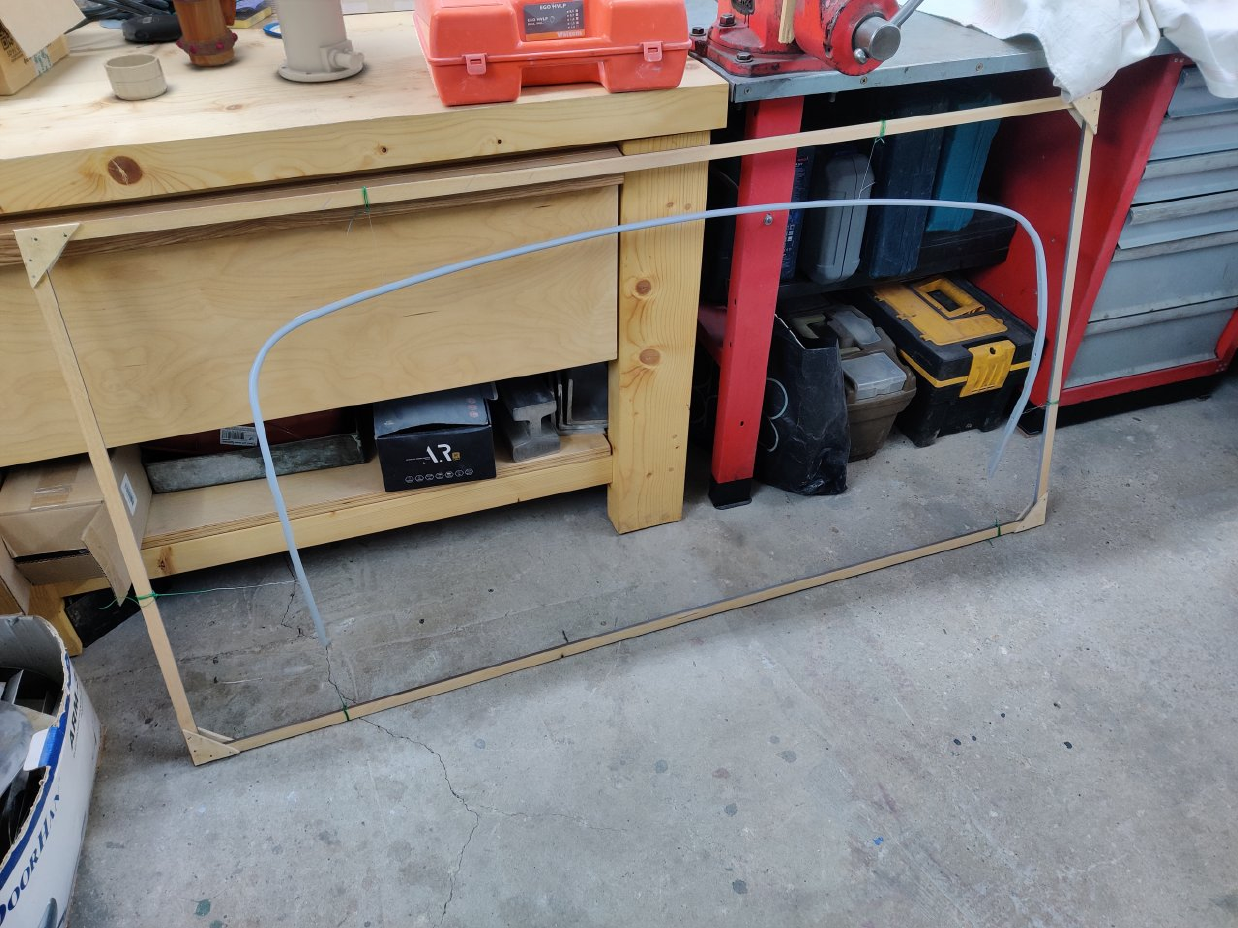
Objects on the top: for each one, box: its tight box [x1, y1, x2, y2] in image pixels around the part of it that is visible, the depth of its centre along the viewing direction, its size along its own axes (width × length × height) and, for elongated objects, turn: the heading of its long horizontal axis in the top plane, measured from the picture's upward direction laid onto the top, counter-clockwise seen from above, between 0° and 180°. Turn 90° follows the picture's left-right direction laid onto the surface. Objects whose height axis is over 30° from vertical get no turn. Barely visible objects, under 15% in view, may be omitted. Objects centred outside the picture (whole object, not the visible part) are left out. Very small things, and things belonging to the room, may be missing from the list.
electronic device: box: [120, 14, 183, 42], centre depth 152 cm, size 9×6×15 cm
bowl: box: [103, 53, 168, 101], centre depth 128 cm, size 7×7×4 cm
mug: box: [170, 0, 239, 67], centre depth 138 cm, size 15×8×15 cm, turn 168°
